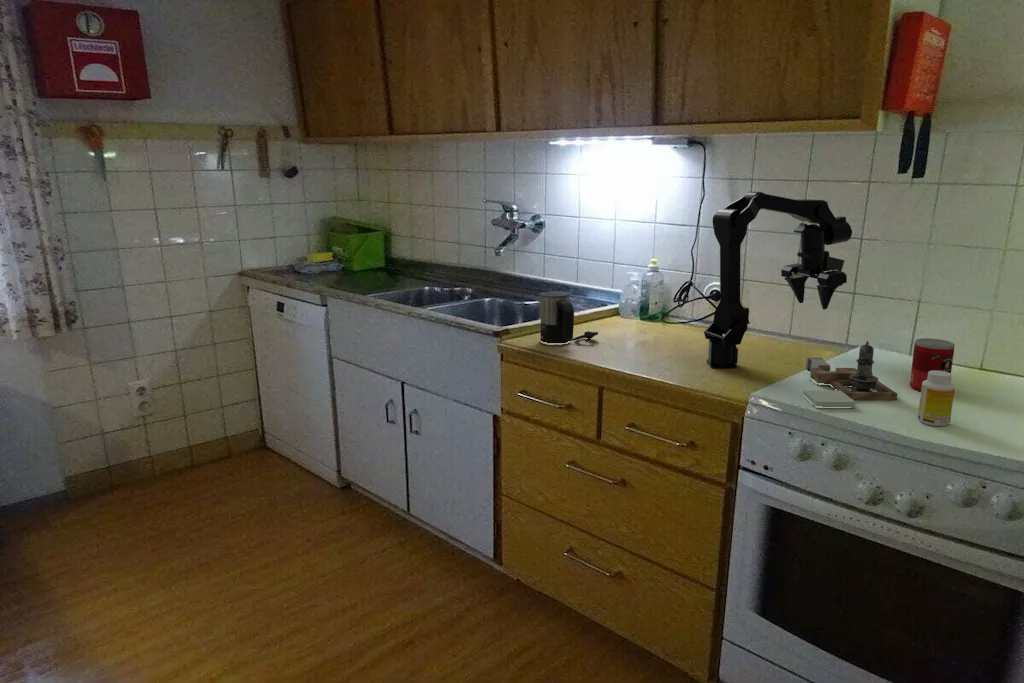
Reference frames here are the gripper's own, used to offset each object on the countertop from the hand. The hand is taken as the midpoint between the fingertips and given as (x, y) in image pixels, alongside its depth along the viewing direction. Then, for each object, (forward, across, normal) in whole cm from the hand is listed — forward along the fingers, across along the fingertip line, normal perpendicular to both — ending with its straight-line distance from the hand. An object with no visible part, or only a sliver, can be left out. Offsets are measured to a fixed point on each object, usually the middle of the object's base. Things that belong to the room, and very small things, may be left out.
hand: (812, 305), depth 189 cm
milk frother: (+8, +36, +57) cm, 68 cm away
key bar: (+12, -16, +11) cm, 23 cm away
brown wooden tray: (+12, -29, +13) cm, 34 cm away
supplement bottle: (+12, -52, +14) cm, 55 cm away
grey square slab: (+10, -35, +25) cm, 44 cm away
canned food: (+14, -35, -3) cm, 38 cm away
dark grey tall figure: (+12, -32, +13) cm, 37 cm away
